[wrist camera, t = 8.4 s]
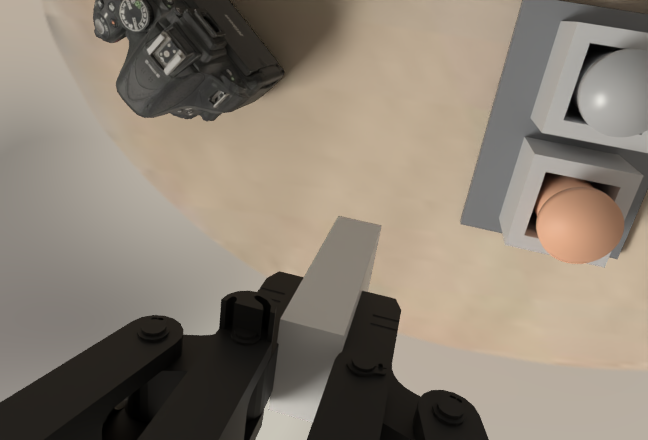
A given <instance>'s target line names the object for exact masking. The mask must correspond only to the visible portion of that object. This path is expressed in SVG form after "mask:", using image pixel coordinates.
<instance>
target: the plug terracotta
mask: <svg viewBox="0 0 648 440" xmlns="http://www.w3.org/2000/svg"><path fill="white" fill-rule="evenodd" d="M534 210H535V213H536V215H537V219H536V231H537V235H538V237H539V240H540V242H541V244H542V246H543V248H544V249H545V250H546V251H547V252H548V253H549V254H550V255H551V256H553V257H554V258H556V259H558V260H560V261H563V262H567V263H572V264H583V263H589V262H593V261H596V260H598V259H601V258H602V257H604V256H606V255H607V254H609V253H610V252H611V251H612V250H613V249H614V248H615V247H616V246H617V245H618V243H619V242H620V240H621V238H622V235H623V232H624V217H623V214H622V212H621V210H620V208H619V207H618V205H617V204H616V203H615V202H614V201H613V200H612V198H611V197H610V196H608V195H607V194H606V193H604V192H602V191H600V190H598V189H594V188H593V186H592V185H591V184H590V183H589V181H588V180H583V179H578V178H573V177H568V176H563V175H558V174H553V173H549V172H547V173H545V176H544V179H543V182H542V185H541V188H540V191H539V193H538V196H537V199H536V202H535V205H534Z"/></svg>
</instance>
